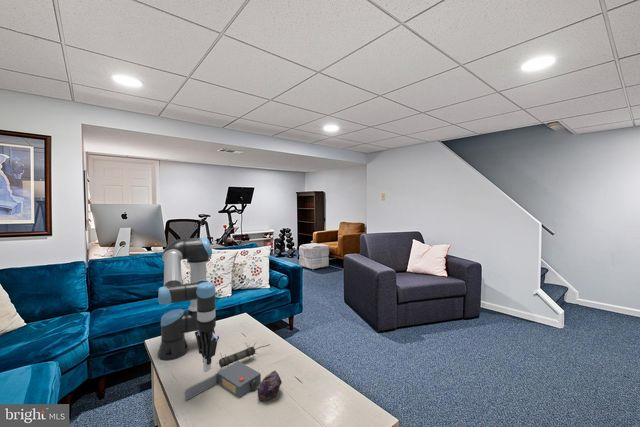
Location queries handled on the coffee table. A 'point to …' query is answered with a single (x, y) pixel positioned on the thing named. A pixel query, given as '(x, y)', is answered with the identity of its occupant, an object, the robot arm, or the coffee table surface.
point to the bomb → (237, 356)
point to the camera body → (239, 378)
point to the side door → (200, 387)
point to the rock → (269, 386)
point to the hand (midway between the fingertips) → (207, 370)
